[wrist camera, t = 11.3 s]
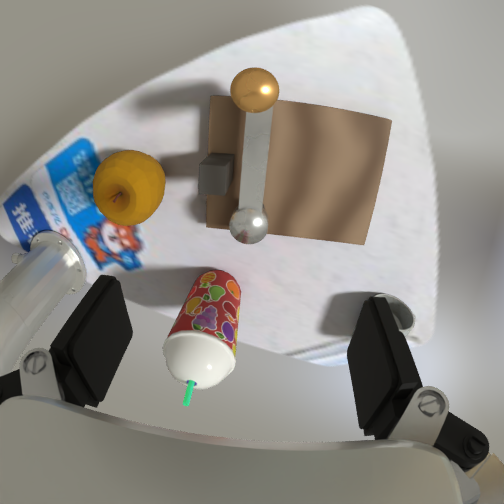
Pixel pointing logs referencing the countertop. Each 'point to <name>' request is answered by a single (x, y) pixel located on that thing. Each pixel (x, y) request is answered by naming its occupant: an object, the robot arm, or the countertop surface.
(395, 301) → the ceramic mug
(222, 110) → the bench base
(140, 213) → the apple
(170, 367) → the smoothie
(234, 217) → the lever
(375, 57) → the countertop surface
